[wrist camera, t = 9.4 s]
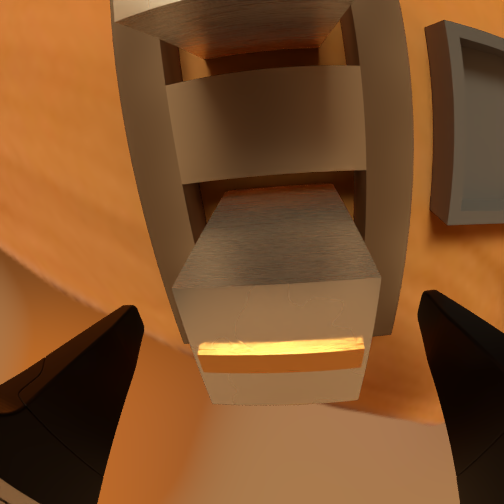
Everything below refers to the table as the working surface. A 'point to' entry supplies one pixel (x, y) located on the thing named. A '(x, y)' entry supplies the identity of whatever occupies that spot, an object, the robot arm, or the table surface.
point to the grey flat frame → (275, 136)
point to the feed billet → (280, 298)
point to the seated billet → (233, 23)
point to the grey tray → (467, 124)
